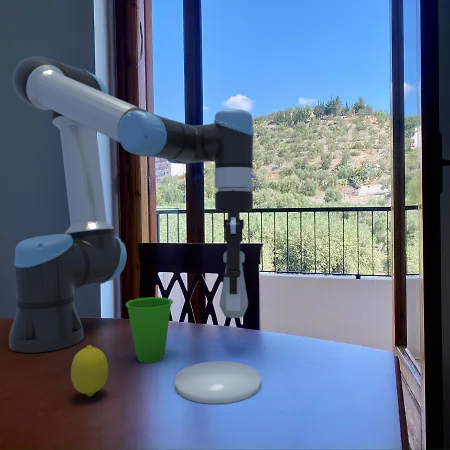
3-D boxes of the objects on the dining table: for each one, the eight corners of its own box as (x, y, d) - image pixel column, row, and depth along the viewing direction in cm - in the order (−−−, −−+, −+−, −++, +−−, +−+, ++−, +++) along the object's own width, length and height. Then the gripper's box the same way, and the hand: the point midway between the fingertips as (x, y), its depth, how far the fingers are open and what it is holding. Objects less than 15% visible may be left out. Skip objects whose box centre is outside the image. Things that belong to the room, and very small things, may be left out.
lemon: (88, 407, 61) (86, 354, 61) (63, 399, 64) (62, 347, 64) (116, 393, 66) (115, 343, 65) (92, 385, 69) (91, 337, 68)
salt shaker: (213, 315, 84) (213, 250, 83) (232, 310, 88) (232, 248, 87) (235, 320, 80) (235, 253, 79) (254, 315, 84) (254, 250, 83)
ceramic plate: (159, 381, 70) (159, 374, 70) (225, 361, 78) (225, 355, 78) (207, 413, 59) (207, 404, 59) (278, 386, 67) (278, 379, 67)
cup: (165, 368, 76) (163, 308, 75) (118, 365, 78) (117, 306, 77) (180, 351, 85) (178, 297, 84) (138, 349, 86) (136, 296, 86)
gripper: (254, 188, 73) (253, 319, 74) (252, 191, 92) (251, 295, 93) (211, 188, 73) (211, 318, 74) (218, 191, 92) (218, 295, 93)
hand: (233, 305), depth 84 cm, fingers closed on salt shaker, 6 cm apart
